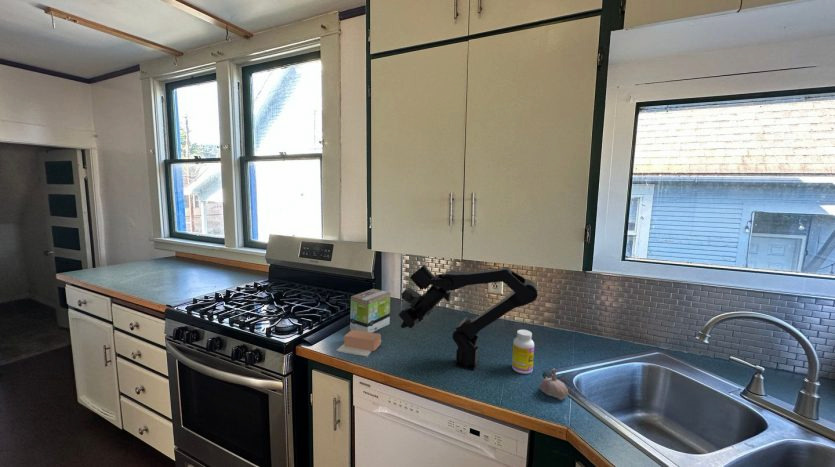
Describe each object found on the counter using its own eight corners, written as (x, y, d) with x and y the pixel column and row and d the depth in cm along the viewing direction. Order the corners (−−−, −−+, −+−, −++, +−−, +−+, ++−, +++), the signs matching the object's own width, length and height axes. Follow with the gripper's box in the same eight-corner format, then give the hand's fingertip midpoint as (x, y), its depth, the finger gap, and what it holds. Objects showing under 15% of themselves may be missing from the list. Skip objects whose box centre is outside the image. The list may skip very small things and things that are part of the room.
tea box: (368, 336, 138) (368, 300, 136) (349, 330, 143) (349, 296, 141) (390, 324, 151) (390, 291, 149) (372, 319, 156) (372, 287, 154)
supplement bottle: (529, 376, 110) (532, 338, 108) (509, 370, 113) (511, 333, 112) (534, 367, 115) (537, 331, 114) (515, 362, 119) (517, 326, 117)
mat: (381, 341, 133) (381, 339, 133) (366, 356, 121) (366, 355, 121) (353, 336, 137) (353, 335, 137) (336, 351, 125) (336, 349, 125)
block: (380, 334, 129) (351, 329, 133) (373, 340, 124) (344, 335, 127) (380, 344, 130) (352, 339, 133) (373, 351, 124) (344, 346, 128)
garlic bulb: (534, 389, 103) (536, 364, 102) (555, 385, 105) (556, 361, 104) (551, 404, 96) (553, 377, 95) (573, 400, 98) (575, 374, 97)
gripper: (424, 277, 129) (398, 303, 134) (403, 286, 112) (374, 316, 117) (445, 299, 127) (417, 326, 131) (426, 312, 109) (395, 342, 114)
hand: (401, 327), depth 123 cm, fingers closed
